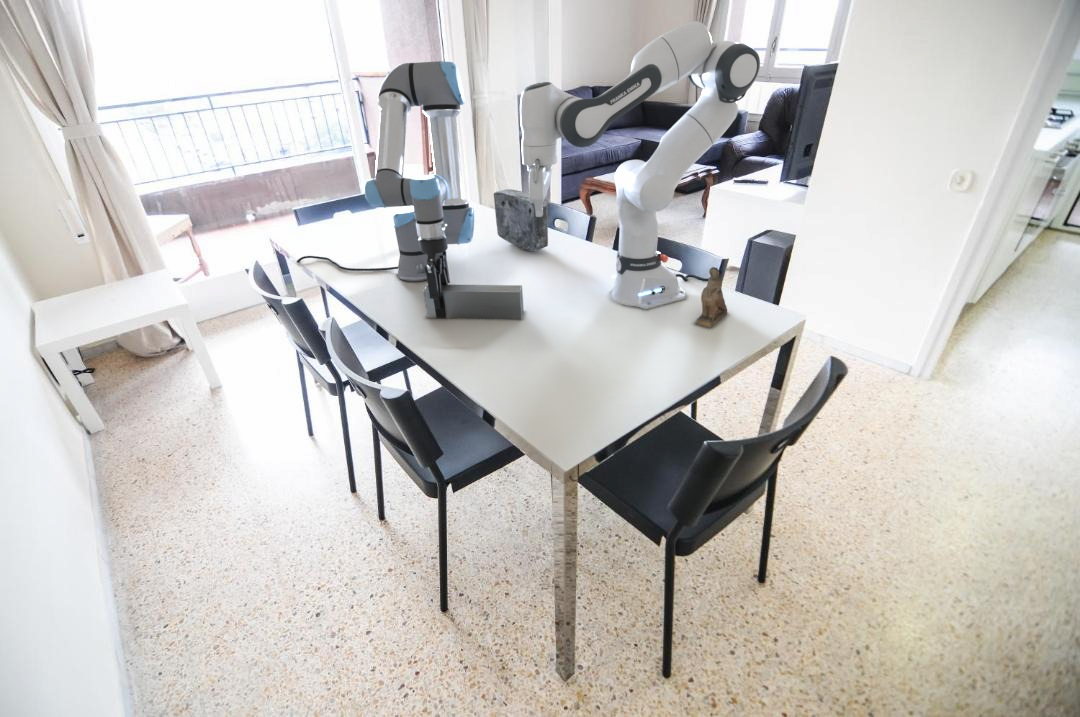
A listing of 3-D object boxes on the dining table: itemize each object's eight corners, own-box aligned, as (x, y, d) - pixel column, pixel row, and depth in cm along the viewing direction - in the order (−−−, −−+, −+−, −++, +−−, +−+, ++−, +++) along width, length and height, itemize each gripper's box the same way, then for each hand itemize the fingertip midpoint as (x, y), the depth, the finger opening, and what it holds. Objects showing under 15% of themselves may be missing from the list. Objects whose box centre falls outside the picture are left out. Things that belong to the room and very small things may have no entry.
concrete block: (553, 252, 189) (552, 199, 179) (534, 258, 185) (532, 204, 175) (514, 236, 208) (511, 187, 198) (496, 241, 204) (492, 191, 193)
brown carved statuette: (709, 335, 136) (713, 280, 124) (691, 329, 139) (693, 274, 128) (730, 313, 142) (736, 258, 130) (712, 307, 145) (716, 253, 133)
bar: (427, 317, 146) (423, 291, 142) (432, 310, 150) (427, 284, 146) (521, 319, 143) (519, 292, 139) (523, 312, 147) (522, 285, 143)
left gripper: (436, 247, 127) (448, 327, 139) (453, 226, 142) (463, 300, 155) (408, 247, 128) (422, 326, 140) (428, 226, 143) (439, 300, 155)
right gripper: (548, 163, 116) (549, 222, 123) (554, 149, 134) (555, 201, 141) (521, 164, 117) (524, 222, 124) (531, 149, 134) (533, 201, 141)
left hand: (443, 312), depth 147 cm, fingers open, 5 cm apart
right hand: (541, 211), depth 133 cm, fingers open, 8 cm apart
